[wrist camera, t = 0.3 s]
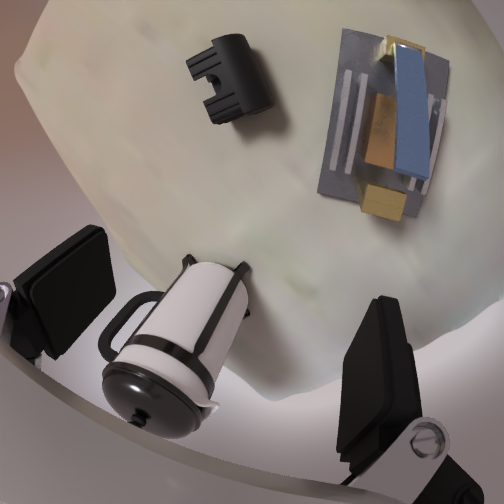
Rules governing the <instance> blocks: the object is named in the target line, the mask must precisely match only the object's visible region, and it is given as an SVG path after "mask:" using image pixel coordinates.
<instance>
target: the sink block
mask: <svg viewBox="0 0 504 504" xmlns="http://www.w3.org/2000/svg"><path fill="white" fill-rule="evenodd" d="M394 41H397V42H400V43H403V44H407V45H410V46H413V47H415V48H418V49H421V50H422V57H423V64H424V71H425V79H426V88H427V99H428V113H429V135H430V171H429V178H428V179H427V180H426V181H424V180H421V179H418V178H414V177H411V176H408V175H404V174H401V173H398V172H394V171H393V164H394V148H395V119H396V91H395V63H394V49H393V44H394ZM448 70H449V61H448V60H446V59H444V58H441V57H439V56H436V55H434V54H431V53H429V52H426V51H425V47H423V46H420V45H417V44H415V43H412V42H409V41H406V40H403V39H399V38H396V37H393V36H389V35H387V36H386V37H385V38H383V37H379V36H375V35H371V34H367V33H363V32H359V31H354V30H350V29H345V28H343V29H342V36H341V45H340V53H339V61H338V69H337V76H336V83H335V90H334V97H333V104H332V110H331V116H330V123H329V129H328V135H327V141H326V146H325V152H324V157H323V163H322V168H321V174H320V179H319V184H318V189H317V193H320V194H325V195H329V196H333V197H338V198H342V199H346V200H351V201H355V202H359V206H360V209H361V212H364V213H368V214H372V215H376V216H380V217H384V218H388V219H392V220H395V221H399V222H400V219H401V216H402V214H405V215H409V216H412V217H417V214H418V211H419V208H420V204H421V201H422V198H423V194H424V195H426V193H427V190H428V186H429V183H430V179H431V175H432V172H433V168H434V164H435V160H436V156H437V151H438V147H439V142H440V138H441V133H442V128H443V123H444V117H445V111H446V105H447V100H445V94H446V87H447V79H448Z"/></svg>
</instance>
